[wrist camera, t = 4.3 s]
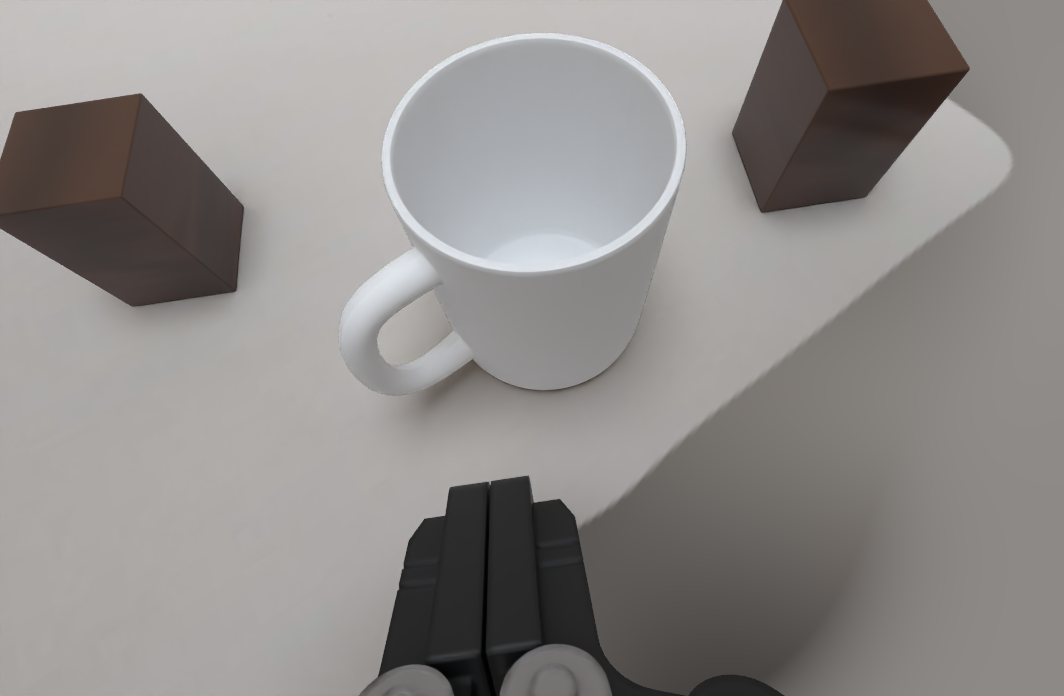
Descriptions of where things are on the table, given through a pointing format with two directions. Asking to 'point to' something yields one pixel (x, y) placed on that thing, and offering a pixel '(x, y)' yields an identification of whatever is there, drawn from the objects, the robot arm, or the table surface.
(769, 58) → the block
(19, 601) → the table surface
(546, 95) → the cup
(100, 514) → the table surface
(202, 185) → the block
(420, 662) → the robot arm
